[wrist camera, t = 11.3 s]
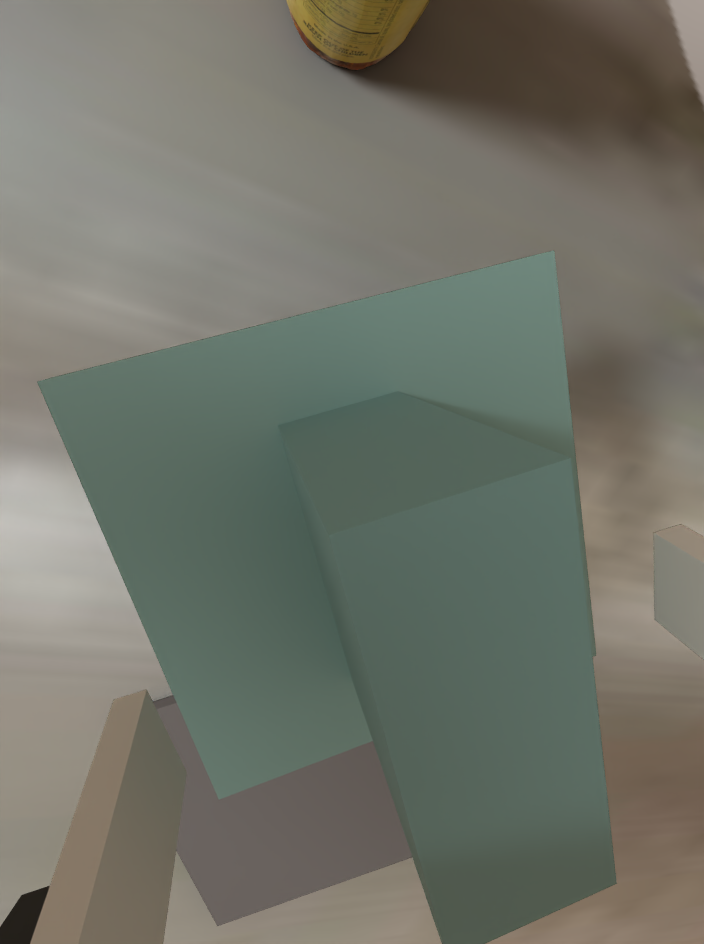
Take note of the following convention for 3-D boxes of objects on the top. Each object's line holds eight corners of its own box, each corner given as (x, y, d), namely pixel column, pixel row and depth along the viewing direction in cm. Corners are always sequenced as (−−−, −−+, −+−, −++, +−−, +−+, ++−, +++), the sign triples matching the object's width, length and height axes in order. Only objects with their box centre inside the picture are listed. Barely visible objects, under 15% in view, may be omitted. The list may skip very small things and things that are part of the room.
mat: (218, 914, 42) (217, 926, 41) (111, 714, 34) (107, 724, 33) (495, 817, 44) (499, 826, 43) (457, 606, 36) (461, 613, 35)
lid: (219, 773, 20) (208, 1170, 11) (51, 377, 15) (-249, 462, 6) (577, 638, 23) (832, 868, 13) (533, 255, 18) (894, 169, 8)
